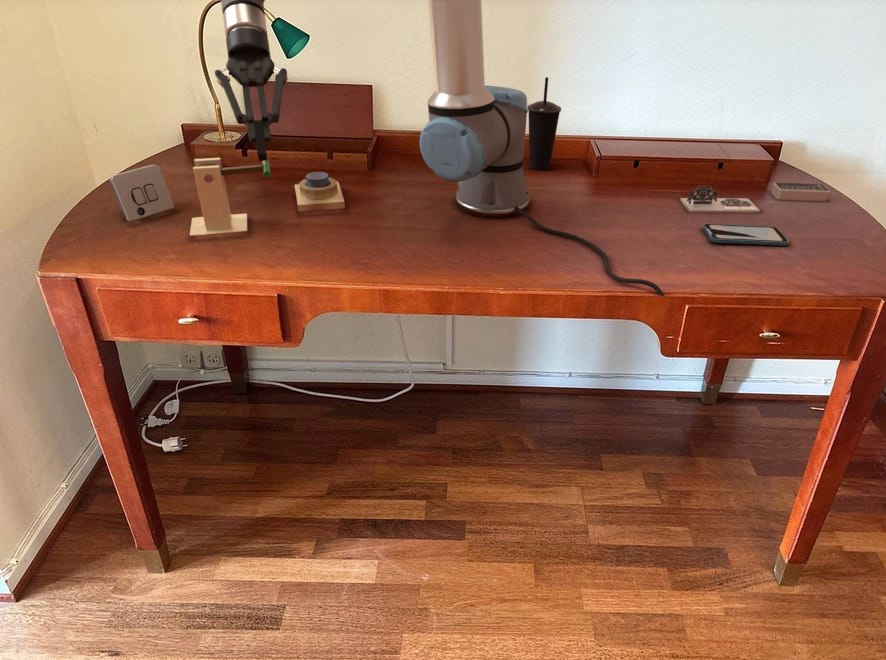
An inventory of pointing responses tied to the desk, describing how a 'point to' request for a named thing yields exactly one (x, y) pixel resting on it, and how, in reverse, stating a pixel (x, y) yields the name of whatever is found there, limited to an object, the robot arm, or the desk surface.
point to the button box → (319, 196)
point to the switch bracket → (214, 202)
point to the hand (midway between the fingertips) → (262, 157)
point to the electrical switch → (141, 192)
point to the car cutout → (716, 202)
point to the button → (317, 179)
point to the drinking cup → (542, 131)
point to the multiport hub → (800, 191)
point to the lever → (246, 169)
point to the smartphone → (745, 234)
